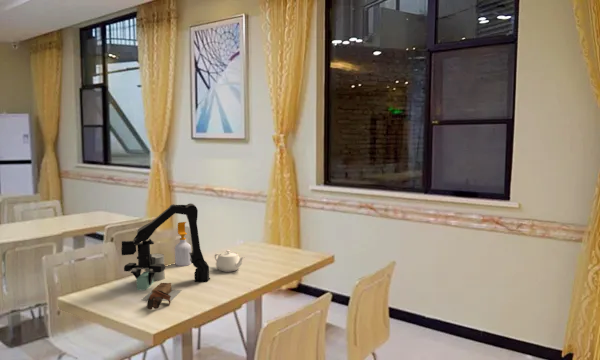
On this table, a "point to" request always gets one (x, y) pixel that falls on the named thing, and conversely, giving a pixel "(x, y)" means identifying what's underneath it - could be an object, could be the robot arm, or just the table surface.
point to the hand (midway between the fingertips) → (145, 284)
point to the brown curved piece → (157, 299)
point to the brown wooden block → (163, 289)
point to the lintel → (143, 281)
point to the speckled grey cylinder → (158, 260)
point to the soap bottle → (182, 247)
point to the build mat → (172, 294)
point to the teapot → (228, 261)
